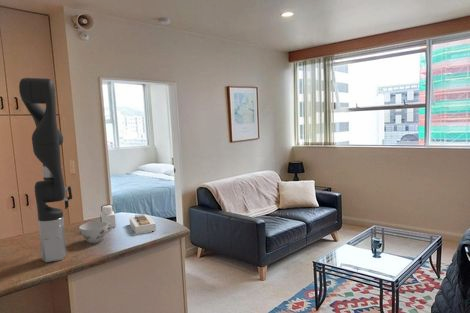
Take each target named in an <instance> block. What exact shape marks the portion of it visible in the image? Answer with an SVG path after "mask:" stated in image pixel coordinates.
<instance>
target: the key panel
mask: <svg viewBox="0 0 470 313" xmlns="http://www.w3.org/2000/svg"><path fill="white" fill-rule="evenodd" d="M144 216H145V217H146V218H147V219H148V220H149V222H150V224H147V225H140V224H139V222H138V221H137V219H135V216H130V217H129V225H130V227H131V228H132V230H133V232H134V233H135V235H141V234H148V233H152V231H154V232H157V229H156V228H157V227H156V226H157V225H156V223H155V221H154V220H153V219H152V218H151V216H149V214H144ZM147 232H148V233H147Z"/></svg>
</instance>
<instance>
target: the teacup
mask: <svg viewBox="0 0 470 313" xmlns="http://www.w3.org/2000/svg"><path fill="white" fill-rule="evenodd" d="M108 226H110V227H111V228H108ZM108 229H109V230H108ZM112 229H113V228H112V224H108V223H107V222H101V220H98V221H89V222H86V223H82V225H79V231H80V234H81V236H82V237H83V239H84V240H85V241H87V242H88V243H90V244H96V243H99V242H101V241H102V240H103V238H105V236H106V235H107V234H108V233H110V232H111V231H112Z"/></svg>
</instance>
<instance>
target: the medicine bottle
mask: <svg viewBox="0 0 470 313" xmlns="http://www.w3.org/2000/svg"><path fill="white" fill-rule="evenodd" d="M100 210H101V211H100V215H99V216H100V221H101V222H107V223H108V224H112V229H113V228H116V227H117V223H116V214H115V212H114V206H113V204H104V205H102V206H101V207H100ZM110 228H111V227H110V226H108V229H110Z"/></svg>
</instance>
